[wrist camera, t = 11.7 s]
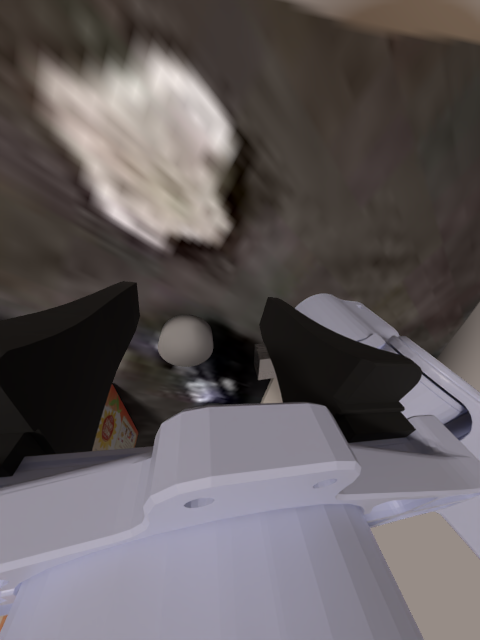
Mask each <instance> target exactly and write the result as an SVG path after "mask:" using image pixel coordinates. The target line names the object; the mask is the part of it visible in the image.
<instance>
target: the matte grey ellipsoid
mask: <svg viewBox="0 0 480 640" xmlns="http://www.w3.org/2000/svg"><path fill="white" fill-rule="evenodd" d="M158 351H159V353H160V355H161V357H162V358H163V359H164V360H166V361H167V362H169V363H171V364H173V365H176V366H182V367H189V366H195V365H198V364H201V363H203V362H204V361H206V360H207V359H208V358H209V357H210V355H211V354H212V352H213V337H212V330H211V327H210V326H209V324H208V323H207V322H206V321H205V320H203V319H201V318H199V317H197V316H193V315H180V316H176V317H174V318H171V319H170V320H168V321H167V322H166V323H165V325H164V326H163V328H162V331H161V335H160V339H159V343H158Z"/></svg>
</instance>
